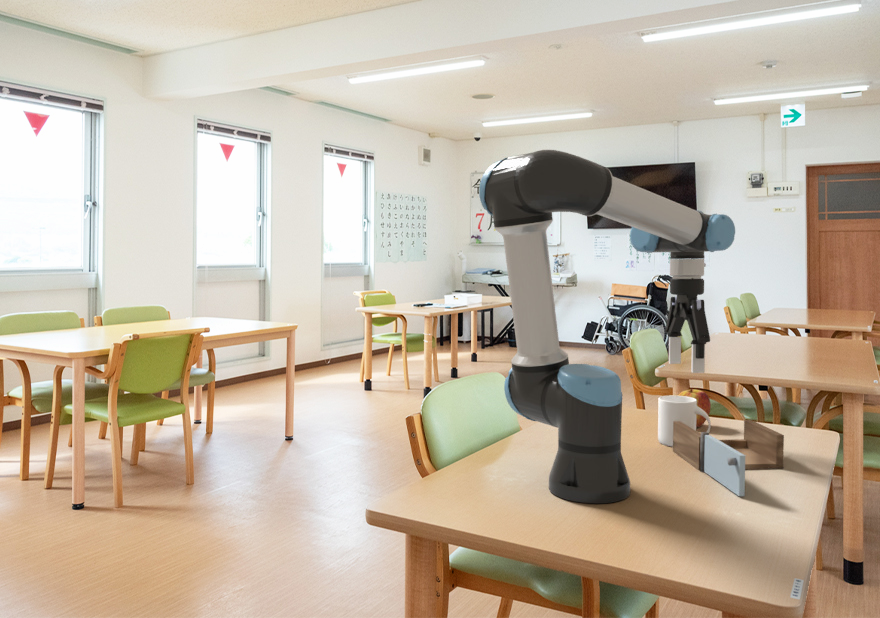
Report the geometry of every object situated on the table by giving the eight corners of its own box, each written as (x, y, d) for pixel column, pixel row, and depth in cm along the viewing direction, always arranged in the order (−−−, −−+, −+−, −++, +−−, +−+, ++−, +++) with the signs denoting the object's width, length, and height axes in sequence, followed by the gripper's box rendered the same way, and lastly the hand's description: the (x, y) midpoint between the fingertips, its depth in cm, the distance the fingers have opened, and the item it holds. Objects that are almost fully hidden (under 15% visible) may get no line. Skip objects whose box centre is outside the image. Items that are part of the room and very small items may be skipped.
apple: (710, 431, 176) (711, 392, 175) (672, 429, 179) (673, 390, 178) (710, 423, 184) (710, 386, 184) (674, 421, 187) (674, 384, 187)
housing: (701, 472, 142) (702, 434, 142) (672, 451, 158) (673, 416, 157) (787, 470, 143) (788, 432, 143) (749, 449, 159) (750, 415, 158)
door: (698, 471, 142) (699, 435, 141) (708, 471, 142) (709, 434, 142) (732, 496, 127) (733, 455, 127) (744, 496, 127) (745, 455, 127)
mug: (704, 452, 157) (705, 405, 156) (652, 444, 164) (653, 399, 164) (715, 444, 164) (716, 399, 163) (665, 436, 171) (665, 394, 171)
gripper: (727, 278, 149) (725, 376, 151) (681, 276, 174) (680, 359, 176) (693, 279, 149) (691, 377, 150) (652, 276, 174) (651, 360, 175)
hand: (685, 368), depth 163 cm, fingers open, 13 cm apart
